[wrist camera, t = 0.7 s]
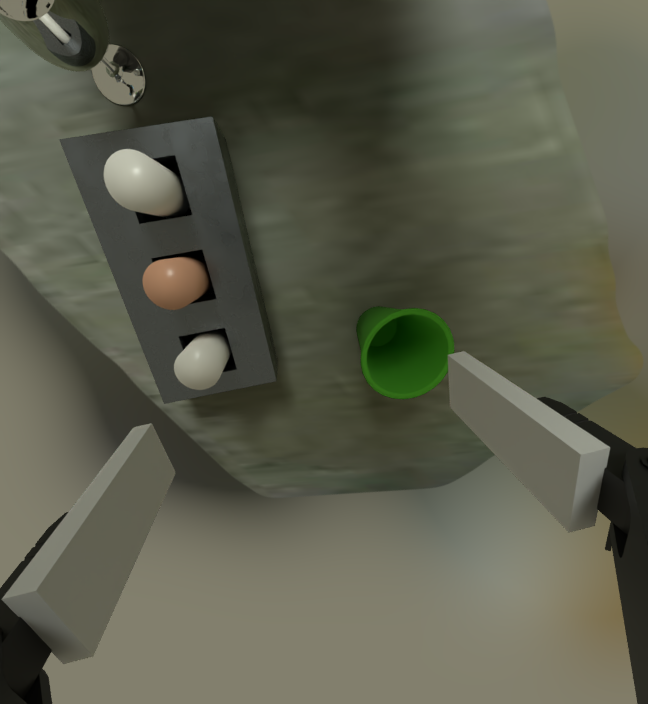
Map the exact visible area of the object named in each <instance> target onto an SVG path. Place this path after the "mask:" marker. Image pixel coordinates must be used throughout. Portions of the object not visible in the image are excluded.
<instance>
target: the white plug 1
mask: <svg viewBox="0 0 648 704" xmlns="http://www.w3.org/2000/svg"><path fill="white" fill-rule="evenodd" d="M104 181H105V184H106V187H107V189H108V191H109V193H110V195H111V196H112V197H113V199H114V200H115V201H116V202H117V203H119V204H120V205H121V206H123V207H125V208H126V209H129V210H132V211H136V212H141V213H146V214H151V215H156V216H161V217H166V218H178V217H180V216H182V215H183V214H185V213H186V212H187V210H188V209H189V206H190V205H189V201H188V198H187V194H186V191H185V188H184V184H183V181H182V178H181V177H180V176H179V175H177V174H176V173H174V172H172V171H171V170H169V169H168V168H166V167H164V166H163V165H161V164H160V163H158V162H156V161H155V160H153V159H151V158H150V157H148V156H147V155H145V154H143V153H141V152H139V151H136V150H132V149H123V150H119V151H117V152H115V153H113V154H112V155H111V156H110V157H109V158H108V160H107V162H106V164H105V167H104Z"/></svg>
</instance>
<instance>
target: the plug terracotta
mask: <svg viewBox="0 0 648 704" xmlns="http://www.w3.org/2000/svg"><path fill="white" fill-rule="evenodd" d="M211 287H212V281H211V278H210V274H209V271H208V267H207V264H206V261H204V260H203V259H201V258H199V257H197V256H183V257H176V258H170V259H163V260H158V261H155V262H153V263H152V264H150V265H149V266H148V267H147V269H146V270H145V272H144V275H143V288H144V291H145V293H146V295H147V296H148V298H149V299H150V300H151V301H152V302H153V303H154V304H156V305H157V306H159V307H161V308H164V309H168V310H178V309H181V308H184V307H185V306H187V305H188V304H190V303H192V302H193V301H195V300H196V299H198V298H199V297H201V296H202V295H204V294H205V293H207V292H208V291H209V290H210V289H211Z"/></svg>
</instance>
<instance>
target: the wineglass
mask: <svg viewBox="0 0 648 704" xmlns="http://www.w3.org/2000/svg"><path fill="white" fill-rule="evenodd" d="M0 20H1V22H2V23H3V24H4V25H5V26H6V27H7V28H8V29H9V30H10V31H11V32H12V33H13V34H14V35H15V36H16V37H17V38H18V39H19V40H20V41H21V42H22V43H24V44H25V45H26V46H27V47H28V48H29V49H30V50H32V51H33V52H34V53H36V54H37V55H38V56H40V57H41V58H43V59H44V60H46V61H48V62H49V63H51V64H53V65H55V66H57V67H60V68H63V69H66V70H70V71H76V72H82V71H87V70H91V69H92V75H93V78H94V81H95V83H96V85H97V87H98V89H99V90H100V92H101V93H102V94H103V95H104V96H105V97H106V98H107V99H109V100H110V101H112V102H113V103H116V104H119V105H125V106H127V105H132V104H134V103H136V102H137V101H139V100H140V99H141V97H142V95H143V93H144V90H145V84H146V81H145V74H144V71H143V68H142V66H141V64H140V62H139V61H138V59H137V58H136V57H135V56H134V54H133V53H131V52H130V51H129V50H127V49H126V48H124V47H122V46H119V45H116V44H109V29H108V23H107V19H106V16H105V13H104V10H103V8H102V6H101V4H100V1H99V0H0Z"/></svg>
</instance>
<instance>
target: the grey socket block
mask: <svg viewBox="0 0 648 704" xmlns="http://www.w3.org/2000/svg"><path fill="white" fill-rule="evenodd" d="M59 140H60V142H61V145H62V147H63V150H64V152H65V155H66V158H67V160H68V163H69V165H70V168H71V170H72V173H73V175H74V178H75V180H76V183H77V185H78V188H79V190H80V193H81V195H82V198H83V200H84V203H85V205H86V208H87V210H88V213H89V216H90V218H91V221H92V223H93V226H94V228H95V231H96V233H97V236H98V238H99V241H100V243H101V246H102V248H103V251H104V253H105V256H106V258H107V261H108V263H109V266H110V268H111V271H112V274H113V276H114V279H115V281H116V284H117V286H118V289H119V291H120V294H121V296H122V299H123V301H124V304H125V306H126V309H127V311H128V314H129V316H130V319H131V321H132V324H133V326H134V329H135V331H136V334H137V337H138V339H139V342H140V344H141V347H142V349H143V352H144V354H145V357H146V359H147V362H148V364H149V367H150V369H151V372H152V374H153V377H154V379H155V382H156V384H157V387H158V389H159V392H160V395H161V397H162V400H163V402H164V404H166V403H170V402H175V401H180V400H185V399H190V398H195V397H200V396H205V395H210V394H215V393H220V392H225V391H230V390H235V389H240V388H245V387H250V386H255V385H260V384H265V383H270V382H275V381H277V363H278V361H277V356H276V352H275V348H274V344H273V339H272V335H271V331H270V327H269V322H268V318H267V314H266V310H265V305H264V301H263V297H262V293H261V288H260V284H259V280H258V276H257V271H256V267H255V263H254V259H253V254H252V250H251V246H250V242H249V237H248V233H247V229H246V225H245V220H244V216H243V212H242V208H241V203H240V199H239V195H238V191H237V186H236V182H235V178H234V173H233V169H232V165H231V161H230V156H229V152H228V148H227V144H226V139H225V138H224V136H223V134H222V132H221V131H220V129H219V127H218V126H217V124H216V122H215V120H214V119H213V117H205V118H199V119H192V120H185V121H179V122H172V123H165V124H159V125H152V126H146V127H139V128H132V129H126V130H119V131H112V132H106V133H99V134H92V135H86V136H79V137H72V138H66V139H59ZM123 149H132V150H136V151H139V152H141V153H143V154H145V155H147V156H148V157H150V158H151V159H153V160H155V161H156V162H158V163H160V164H161V165H163V166H164V167H166V168H168V169H169V170H171V171H172V172H174V173H180V174H181V177H182V181H183V184H184V188H185V191H186V194H187V198H188V201H189V205H190V208H191V212H192V215H190V216H184V217H178V218H172V219H166V220H162V218H161V216H156V215H151V214H146V213H141V212H136V211H132V210H129V209H126V208H125V207H123V206H121V205H120V204H119V203H117V202H116V201H115V200H114V199H113V197H112V196H111V195H110V193H109V191H108V189H107V187H106V184H105V181H104V167H105V164H106V162H107V160H108V158H109V157H110V156H111V155H112V154H113V153H115V152H117V151H119V150H123ZM202 250H203V253H204V257H205V260H206V264H207V267H208V271H209V274H210V278H211V281H212V285H213V288H214V292H213V293H208V294H204V295H202V296H201V297H199V298H198V299H196V300H195V301H193V302H192V303H190V304H188V305H187V306H185V307H184V308H181V309H178V310H168V309H164V308H161V307H159V306H157V305H156V304H154V303H153V302H152V301H151V300H150V299H149V298H148V296H147V295H146V293H145V291H144V288H143V275H144V272H145V270H146V269H147V267H148V266H149V265H150V264H152V263H153V262H155V261H158V260H163V259H170V258H174V256H173V255H179V254H185V253H190V252H196V251H202ZM221 328H225V330H226V333H227V337H228V340H229V344H230V347H231V350H232V353H231V355H230V357H229V359H228V361H227V363H226V365H225V368H224V370H223V372H222V374H221V376H220V378H219V380H218V381H217V383H216V384H215V385H213V386H212V387H210V388H207V389H203V390H195V389H191V388H189V387H186V386H185V385H183V384H182V383H181V382H180V381H179V380H178V378H177V377H176V375H175V372H174V363H175V360H176V358H177V357H178V355H179V354H180V353H181V352H182V351H183V350H184V349H185V348H186V347H187V346H188V345H189V344H190V342H191V341H192V340H193V339H194V338H195V337H196V336H197V335H198V334H199V333H200V332H205V331H210V330H216V329H221Z"/></svg>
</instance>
